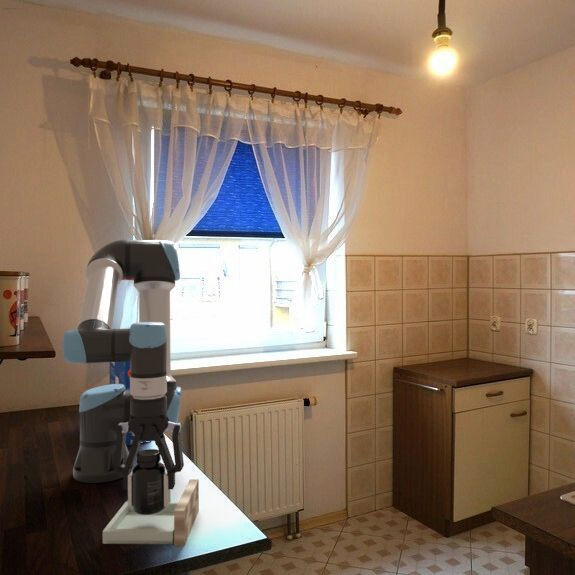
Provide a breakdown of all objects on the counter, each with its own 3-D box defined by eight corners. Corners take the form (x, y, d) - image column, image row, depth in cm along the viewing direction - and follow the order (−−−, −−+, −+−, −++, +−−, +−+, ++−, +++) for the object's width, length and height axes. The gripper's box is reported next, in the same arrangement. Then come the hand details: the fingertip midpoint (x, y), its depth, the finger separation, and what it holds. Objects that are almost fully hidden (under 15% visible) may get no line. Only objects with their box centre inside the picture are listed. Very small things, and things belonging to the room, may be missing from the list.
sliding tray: (126, 512, 118) (126, 501, 118) (188, 512, 117) (187, 501, 117) (102, 543, 104) (102, 531, 104) (172, 544, 103) (172, 531, 103)
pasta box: (151, 442, 169) (150, 355, 169) (125, 445, 165) (125, 357, 165) (132, 421, 194) (131, 346, 193) (110, 424, 190) (109, 347, 189)
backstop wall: (190, 510, 119) (189, 479, 119) (198, 510, 119) (198, 479, 119) (174, 545, 103) (174, 510, 103) (184, 545, 103) (184, 510, 103)
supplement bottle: (168, 501, 114) (168, 447, 114) (162, 515, 107) (162, 457, 107) (137, 502, 114) (136, 447, 114) (128, 516, 107) (128, 457, 107)
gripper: (95, 399, 107) (96, 512, 107) (192, 399, 107) (192, 511, 107) (108, 392, 114) (109, 496, 114) (198, 391, 114) (199, 496, 114)
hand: (149, 503), depth 111 cm, fingers closed on supplement bottle, 7 cm apart
